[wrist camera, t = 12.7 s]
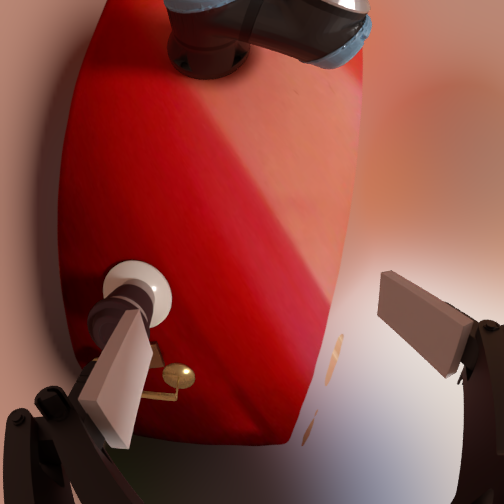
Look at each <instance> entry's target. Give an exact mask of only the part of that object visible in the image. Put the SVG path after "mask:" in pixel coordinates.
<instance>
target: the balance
mask: <svg viewBox="0 0 504 504" xmlns="http://www.w3.org/2000/svg"><path fill="white" fill-rule="evenodd" d="M150 345H151V348H152V351H153V355H152V358H151V362H150V365H149V368H157V367H164V365H165V363H164V360H163V357H162V355H161V352H160V349H159V346H158V343H157V341H155V342H150ZM98 359H99V357H97V358H94V359H93V360H92V361H97V360H98ZM163 379H164V381H165V382H166V383H167V384H168V385H170V386H172V387H174V388H176V394H170V393H159V392H149V391H142V395H141V397H143V398H151V399H160V400H170V401H177V398H178V397H177V394H178V388H179V389H183V388H187V387H190V386H191V385H192V384H193V383H194V381H195V374H194V371H193V370H192V369H191V368H190V367H189V366H187V365H185V364H182V363H171V364H169V365H167V366H166V367H165V368H164V370H163Z"/></svg>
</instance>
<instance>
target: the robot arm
mask: <svg viewBox="0 0 504 504" xmlns="http://www.w3.org/2000/svg"><path fill="white" fill-rule="evenodd" d="M164 4H165V6H166V8H167V12H168V16H169V20H170V23H171V27H172V32H171V34H170V37H169V40H168V45H167V50H168V55H169V58H170V61H171V63H172V64H173V66H174V67H175V68H176V69H177V70H178V71H179V72H181V73H182V74H184V75H186V76H188V77H192V78H196V79H216V78H220V77H224V76H226V75H229V74H231V73H232V72H234V71H235V70H237V69H238V68H239V67H240V66H241V65H242V64H243V63H244V62H245V60H246V58H247V56H248V53H249V50H250V44H253V45H256V46H260V47H263V48H266V49H269V50H273V51H276V52H279V53H282V54H285V55H288V56H290V57H293V58H296V59H298V60H299V61H300V62H303V63H307V64H312V65H315V66H317V67H320V68H323V69H335V68H338V67H340V66H342V65H344V64H345V63H347V62H348V61H349V60H350V59H352V58H353V57H354V56H355V55H356V54H357V53H358V51H359V50H360V49H361V48H362V46H363V45H364V40H365V39H366V38H368V36H369V34H370V31H371V27H372V22H371V18H370V17H369V16H368V14H367V13H368V12H369V10H370V5H369V2H368V0H164ZM377 315H378V316H379V317H380V318H381V319H382V320H383V321H384V322H385V323H386V324H388V325H389V326H390V327H391V328H392V329H393V330H394V331H395V332H396V333H397V334H399V335H400V336H401V337H402V338H403V339H404V340H405V341H406V342H407V343H408V344H410V345H411V346H412V347H413V348H414V349H415V350H416V351H417V352H418V353H419V354H420V355H421V356H422V357H423V358H424V359H425V360H427V361H428V362H429V363H430V364H431V365H432V366H433V367H434V368H435V369H436V370H437V371H438V372H439V373H440V374H441V375H442V376H443V377H444V378H448V377H449V376H451V375H453V374H454V373H456V372H457V369H458V367H459V364H460V362H462V363H463V364H464V368H463V370H462V372H461V375H460V377H459V380H458V383H457V384H459V383H460V381H461V380H462V379H463V383H462V385H463V391H464V430H463V448H462V458H461V466H460V474H459V480H458V486H457V491H456V495H455V497H454V499H453V501H452V502H451V504H504V325H501V326H500V325H499V324H498V323H497V322H494V321H492V320H482V321H480V322H477V321H476V320H474V319H473V318H471V317H470V316H468V315H466V314H465V313H463V312H461V311H460V310H459V309H457V308H455V307H454V306H452V305H451V304H449V303H447V302H444V301H441V300H440V299H439V298H437V297H435V296H434V295H432V294H430V293H429V292H427V291H425V290H424V289H422V288H420V287H419V286H417V285H415V284H414V283H412V282H410V281H409V280H407V279H405V278H404V277H402V276H400V275H398V274H397V273H395V272H393V271H392V270H391V271H386V272H382V273H381V280H380V292H379V304H378V313H377ZM152 355H153V351H152V348H151V345H150V342H149V339H148V336H147V333H146V330H145V327H144V323H143V320H142V317H141V313H140V310H139V309H136V310H126V311H125V313H124V315H123V316H122V318H121V320H120V321H119V323H118V325H117V326H116V328H115V330H114V332H113V333H112V335H111V337H110V339H109V340H108V342H107V344H106V346H105V348H104V349H103V351H102V353H101V355H100V357H99V359H98V360H97V361H91V362H89V363H88V364H87V365H86V366H85V367H84V368H83V370H82V372H81V374H80V377H78V379H77V381H76V383H75V384H74V386H73V388H72V390H71V392H70V394H69V396H68V397H67V395H66V394H65V392H64V391H63V389H62V388H61V387H58V386H49V387H46V388H44V389H42V390H41V391H40V392H39V393H38V394H37V396H36V397H35V403H34V404H35V405H36V407H37V408H38V410H39V411H40V412H41V414H42V415H43V417H33V416H32V415H31V413H30V412H29V411H28V410H27V409H25V408H19V409H16V410H14V411H13V412H11V414H10V415H9V416H8V418H7V422H6V431H5V441H4V456H3V489H4V504H75V502H74V498H73V494H72V490H71V485H70V482H71V484H72V486H73V488H74V490H75V492H76V494H77V496H78V498H79V500H80V502H81V503H82V504H145V503H144V502H143V501H142V500H141V499H140V497H139V496H138V495H137V494H136V492H135V491H134V490H133V489H132V487H131V486H130V485H129V483H128V482H127V481H126V479H125V478H124V477H123V475H122V474H121V472H120V471H119V470H118V468H117V467H116V465H115V464H114V462H113V461H112V459H111V458H110V456H109V455H108V453H107V452H106V450H105V449H104V448H103V443H104V440H106V441H107V442H108V444H109V445H110V446H111V447H113V448H121V449H129V445H130V440H131V435H132V431H133V427H134V423H135V419H136V414H137V410H138V406H139V402H140V398H141V395H142V391H143V387H144V383H145V380H146V376H147V372H148V369H149V365H150V362H151V358H152Z"/></svg>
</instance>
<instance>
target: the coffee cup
mask: <svg viewBox="0 0 504 504" xmlns="http://www.w3.org/2000/svg"><path fill="white" fill-rule="evenodd" d="M154 304H155V296H154V292H153V290H152V288H151V287H150V286H149V285H148V284H147V283H146V282H144V281H142V280H139V279H130V280H127V281H126V282H124V283H123V284H122V285H121V286H119V287H117V288H116V289H115V290H114V291H113V292H111V293H110V294H109V295H108V296H107V297H106V298H105V299H102V300H100V301H99V302H97V303H96V304H95V305H94V307H93V308H92V309H91V310H90V312H89V315H88V320H87V325H88V330H89V333H90V335H91V338H92V339H93V341H94V342H95V343H96V345H97V346H98V347H99V348H100V349H102V350H103V349H104V348H105V346H106V344H107V342H108V340H109V339H110V337H111V335H112V333H113V332H114V330H115V328H116V326H117V325H118V323H119V321H120V320H121V318H122V316H123V315H124V313H125V311H126V310H136V309H139V310H140V313H141V317H142V320H143V323H144V327H145V330H146V333H147V336H148V339H149V337H150V329H149V328H150V323H151V319H152V316H153V307H154Z"/></svg>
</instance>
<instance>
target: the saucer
mask: <svg viewBox="0 0 504 504" xmlns="http://www.w3.org/2000/svg"><path fill="white" fill-rule="evenodd" d="M130 279H139V280H142V281H144V282H146V283H147V284H148V285H149V286H150V287H151V288H152V290H153V292H154V296H155V304H154V307H153V316H152V319H151V323H150V328H151V327H154V326H156V325H158V324H160V323H161V322H162V321H163V320H164V319H165V318H166V317H167V315H168V313H169V311H170V308H171V304H172V294H171V289H170V286H169V284H168V282H167V280H166V278H165V277H164V276H163V274H162V273H161V272H160V271H159V270H158V269H156V268H155V267H154V266H152V265H150V264H148V263H146V262H143V261H138V260H128V261H124V262H121V263H119V264H117V265H116V266H115V267H113V268H112V269H111V270H110V271H109V273H108V274H107V276H106V278H105V281H104V285H103V295H104V299H105V298H106V297H107V296H108V295H109V294H110V293H111V292H113V291H114V290H115V289H116V288H117V287H119V286H121V285H122V284H123V283H124V282H126V281H127V280H130Z"/></svg>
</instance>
